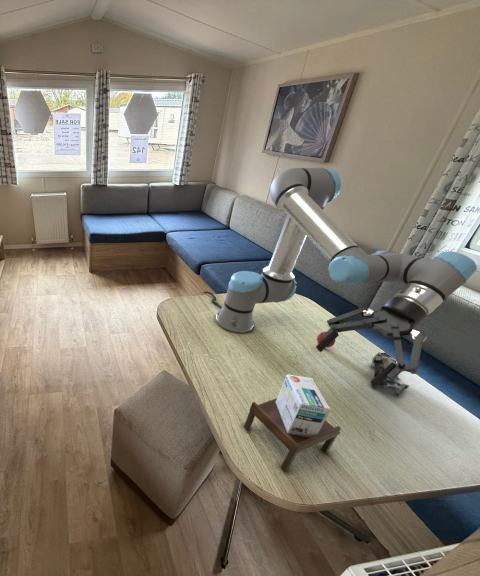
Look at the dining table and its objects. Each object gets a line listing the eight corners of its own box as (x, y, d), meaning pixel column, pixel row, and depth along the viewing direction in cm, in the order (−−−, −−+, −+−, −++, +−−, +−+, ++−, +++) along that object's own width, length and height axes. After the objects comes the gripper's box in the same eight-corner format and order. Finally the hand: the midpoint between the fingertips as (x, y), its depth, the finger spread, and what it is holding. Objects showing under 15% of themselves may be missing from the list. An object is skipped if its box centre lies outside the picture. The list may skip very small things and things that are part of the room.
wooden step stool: (242, 426, 89) (252, 402, 84) (283, 411, 94) (294, 387, 89) (284, 472, 77) (298, 447, 73) (328, 452, 82) (343, 427, 78)
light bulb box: (316, 439, 77) (332, 409, 72) (286, 434, 78) (301, 404, 73) (299, 406, 86) (313, 377, 81) (274, 401, 87) (286, 373, 82)
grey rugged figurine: (353, 371, 106) (381, 341, 107) (353, 385, 112) (379, 357, 114) (395, 393, 96) (425, 361, 98) (392, 408, 103) (420, 377, 104)
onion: (328, 353, 119) (336, 337, 115) (311, 346, 123) (319, 330, 119) (333, 347, 122) (341, 331, 118) (316, 340, 126) (324, 324, 122)
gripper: (354, 276, 84) (296, 331, 86) (480, 327, 63) (399, 397, 66) (358, 290, 88) (303, 342, 90) (478, 342, 68) (402, 408, 70)
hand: (343, 366), depth 78 cm, fingers open, 13 cm apart
